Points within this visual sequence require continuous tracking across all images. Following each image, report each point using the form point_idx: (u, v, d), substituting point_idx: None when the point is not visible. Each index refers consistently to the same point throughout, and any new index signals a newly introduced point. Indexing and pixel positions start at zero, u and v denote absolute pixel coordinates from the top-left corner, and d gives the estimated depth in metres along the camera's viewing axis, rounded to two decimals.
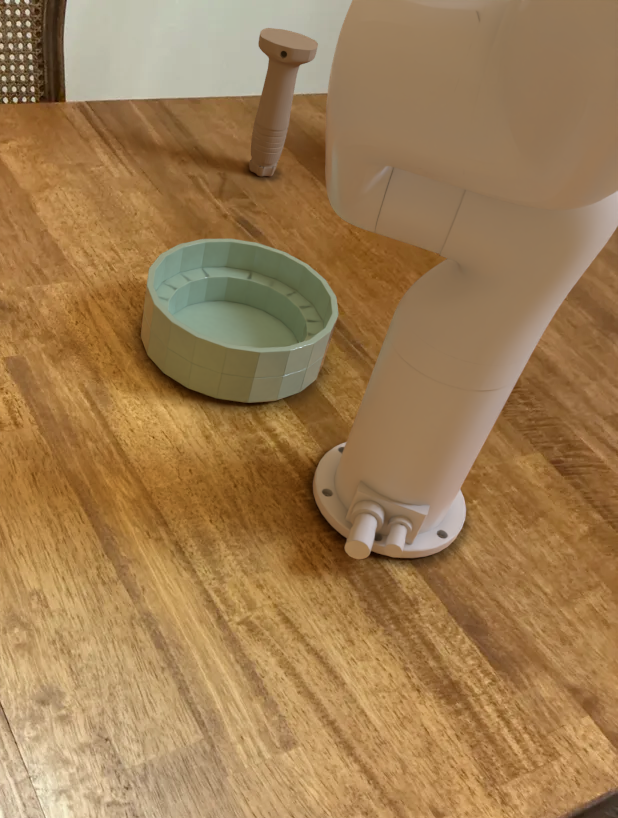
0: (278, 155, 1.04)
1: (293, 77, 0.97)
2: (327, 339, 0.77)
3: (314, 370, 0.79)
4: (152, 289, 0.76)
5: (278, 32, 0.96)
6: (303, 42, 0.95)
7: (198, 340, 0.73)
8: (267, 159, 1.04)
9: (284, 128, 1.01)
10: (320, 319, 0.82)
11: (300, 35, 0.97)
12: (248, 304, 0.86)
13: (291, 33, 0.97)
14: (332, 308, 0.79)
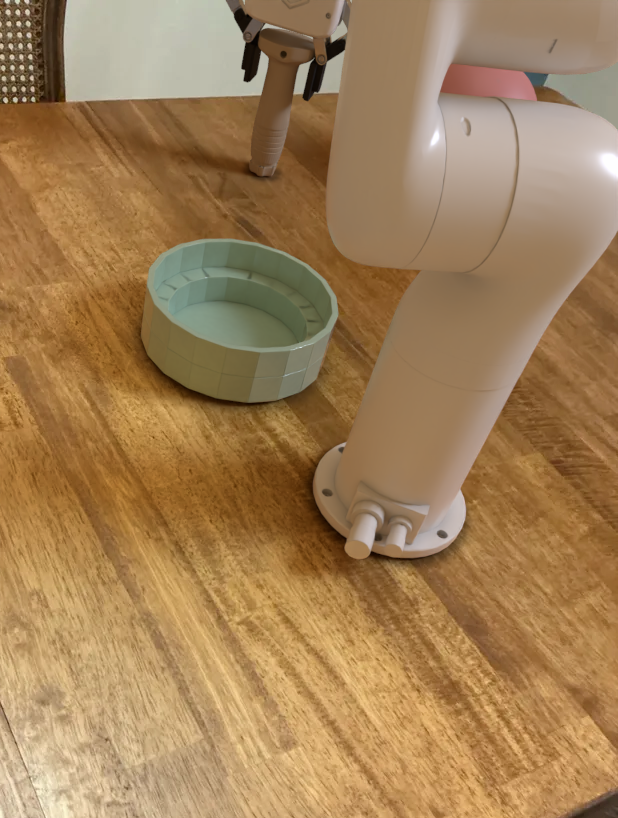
0: (278, 155, 1.04)
1: (293, 77, 0.97)
2: (327, 339, 0.77)
3: (314, 370, 0.79)
4: (152, 289, 0.76)
5: (278, 32, 0.96)
6: (303, 42, 0.95)
7: (198, 340, 0.73)
8: (267, 159, 1.04)
9: (284, 128, 1.01)
10: (320, 319, 0.82)
11: (300, 35, 0.97)
12: (248, 304, 0.86)
13: (291, 33, 0.97)
14: (332, 308, 0.79)
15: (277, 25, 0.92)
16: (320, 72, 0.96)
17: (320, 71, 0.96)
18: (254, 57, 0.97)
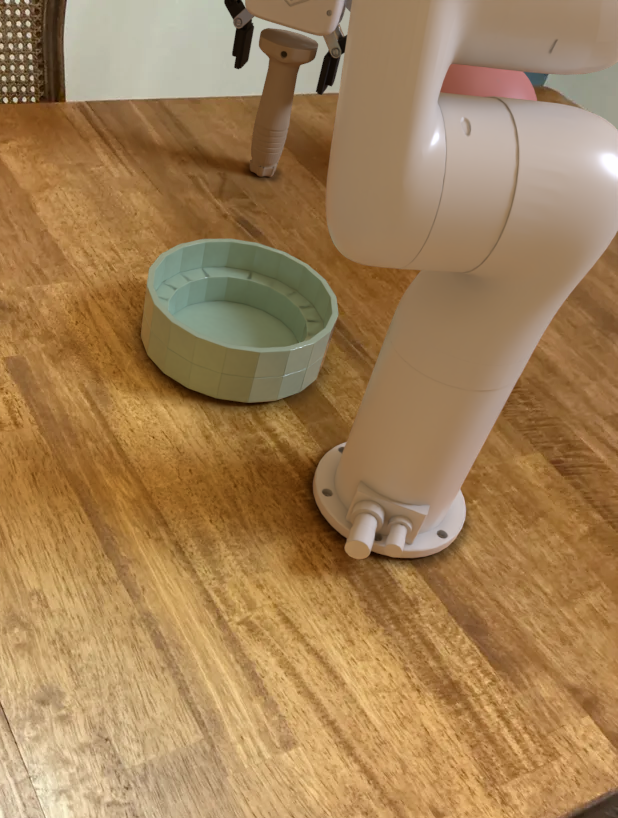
0: (278, 155, 1.04)
1: (293, 77, 0.97)
2: (327, 339, 0.77)
3: (314, 370, 0.79)
4: (152, 289, 0.76)
5: (278, 32, 0.96)
6: (303, 42, 0.95)
7: (198, 340, 0.73)
8: (267, 159, 1.04)
9: (284, 128, 1.01)
10: (320, 319, 0.82)
11: (300, 35, 0.97)
12: (248, 304, 0.86)
13: (292, 33, 0.97)
14: (332, 308, 0.79)
15: (278, 22, 0.92)
16: (334, 65, 0.95)
17: (334, 64, 0.95)
18: (245, 43, 0.96)
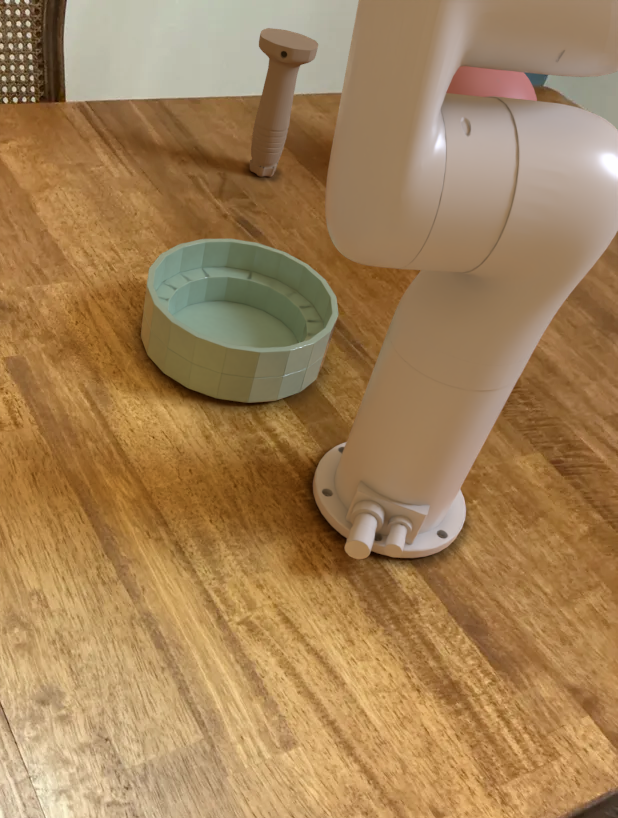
0: (278, 155, 1.04)
1: (293, 77, 0.97)
2: (327, 339, 0.77)
3: (314, 370, 0.79)
4: (152, 289, 0.76)
5: (278, 32, 0.96)
6: (303, 42, 0.95)
7: (198, 340, 0.73)
8: (267, 159, 1.04)
9: (284, 128, 1.01)
10: (320, 319, 0.82)
11: (300, 35, 0.97)
12: (248, 304, 0.86)
13: (292, 33, 0.97)
14: (332, 308, 0.79)
15: None
16: None
17: None
18: None
